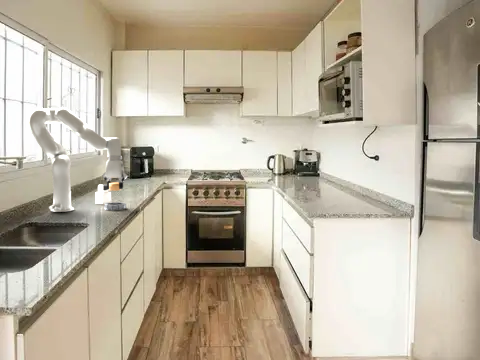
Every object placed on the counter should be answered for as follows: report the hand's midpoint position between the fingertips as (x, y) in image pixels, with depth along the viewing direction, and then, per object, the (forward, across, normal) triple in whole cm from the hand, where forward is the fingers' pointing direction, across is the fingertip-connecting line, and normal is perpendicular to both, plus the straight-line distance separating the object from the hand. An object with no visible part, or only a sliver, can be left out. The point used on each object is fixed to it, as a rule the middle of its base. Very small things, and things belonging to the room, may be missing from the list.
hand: (115, 188), depth 281 cm
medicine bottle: (+12, +18, -18) cm, 28 cm away
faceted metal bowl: (+12, 0, 0) cm, 12 cm away
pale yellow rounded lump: (+1, 0, 0) cm, 1 cm away
